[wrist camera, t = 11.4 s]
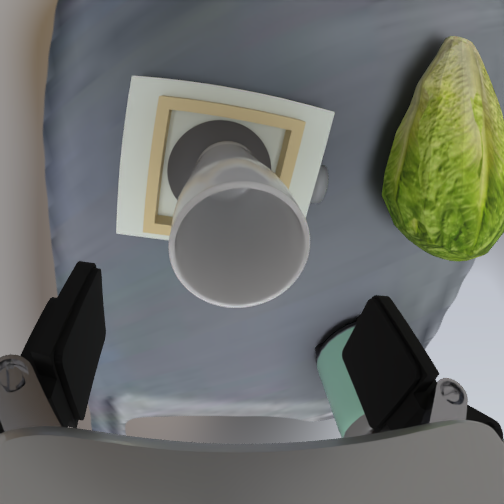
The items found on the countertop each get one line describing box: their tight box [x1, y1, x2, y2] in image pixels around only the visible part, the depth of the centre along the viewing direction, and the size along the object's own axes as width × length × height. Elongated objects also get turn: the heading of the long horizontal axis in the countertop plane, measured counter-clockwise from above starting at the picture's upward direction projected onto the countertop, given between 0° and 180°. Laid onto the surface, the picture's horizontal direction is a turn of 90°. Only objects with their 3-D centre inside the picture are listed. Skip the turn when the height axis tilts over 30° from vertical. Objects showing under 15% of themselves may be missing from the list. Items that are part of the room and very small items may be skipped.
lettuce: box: [382, 36, 504, 261], centre depth 27 cm, size 15×24×14 cm, turn 173°
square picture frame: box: [116, 76, 335, 240], centre depth 29 cm, size 15×19×6 cm
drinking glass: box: [169, 141, 310, 308], centre depth 21 cm, size 7×7×15 cm
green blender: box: [315, 315, 375, 438], centre depth 32 cm, size 19×13×35 cm
